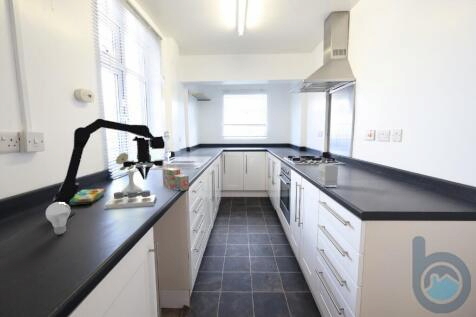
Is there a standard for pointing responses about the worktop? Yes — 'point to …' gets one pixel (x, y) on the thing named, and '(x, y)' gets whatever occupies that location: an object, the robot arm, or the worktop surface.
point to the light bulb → (58, 216)
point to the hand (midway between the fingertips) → (144, 179)
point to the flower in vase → (131, 185)
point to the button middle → (132, 194)
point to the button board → (130, 202)
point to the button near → (118, 195)
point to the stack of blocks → (175, 179)
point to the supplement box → (328, 174)
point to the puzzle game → (87, 196)
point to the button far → (145, 193)
